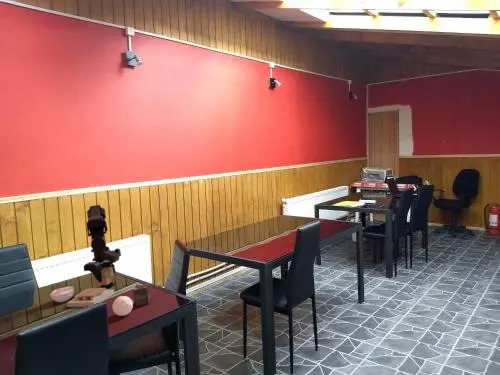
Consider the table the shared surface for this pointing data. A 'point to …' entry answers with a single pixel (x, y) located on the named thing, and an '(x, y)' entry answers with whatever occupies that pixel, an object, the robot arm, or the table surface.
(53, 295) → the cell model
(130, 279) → the table surface
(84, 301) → the dock
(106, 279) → the crate
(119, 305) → the pale pink ovoid
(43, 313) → the table surface
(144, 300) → the box
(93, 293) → the pallet
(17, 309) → the table surface
